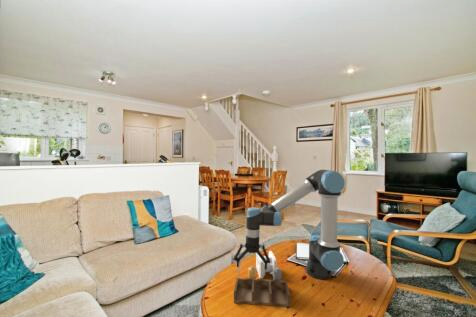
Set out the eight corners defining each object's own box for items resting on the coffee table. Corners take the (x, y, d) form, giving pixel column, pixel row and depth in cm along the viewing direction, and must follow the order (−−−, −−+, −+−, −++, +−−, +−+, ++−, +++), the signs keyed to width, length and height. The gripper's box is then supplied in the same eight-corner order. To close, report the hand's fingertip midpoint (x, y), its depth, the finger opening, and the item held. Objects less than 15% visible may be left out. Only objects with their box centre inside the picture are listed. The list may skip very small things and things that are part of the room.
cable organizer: (277, 280, 128) (277, 260, 128) (259, 281, 127) (259, 260, 127) (271, 267, 142) (271, 249, 142) (255, 268, 142) (255, 250, 142)
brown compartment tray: (286, 291, 117) (286, 280, 117) (289, 306, 105) (290, 294, 105) (236, 288, 119) (236, 277, 119) (233, 302, 107) (234, 290, 107)
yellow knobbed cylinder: (256, 283, 124) (256, 265, 124) (256, 287, 120) (256, 269, 120) (248, 282, 125) (248, 264, 125) (247, 287, 120) (248, 268, 120)
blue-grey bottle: (281, 284, 123) (281, 266, 123) (282, 289, 119) (282, 270, 119) (272, 284, 124) (273, 266, 124) (273, 288, 119) (273, 270, 119)
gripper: (274, 234, 125) (273, 272, 125) (231, 232, 127) (230, 268, 127) (275, 239, 117) (274, 279, 117) (229, 236, 120) (228, 275, 120)
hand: (251, 273), depth 122 cm, fingers open, 13 cm apart
